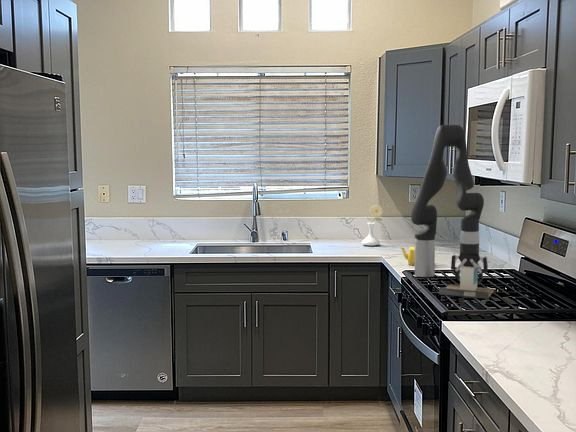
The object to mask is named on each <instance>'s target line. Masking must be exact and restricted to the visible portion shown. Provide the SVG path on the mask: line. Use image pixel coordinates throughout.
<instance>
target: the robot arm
mask: <svg viewBox="0 0 576 432" xmlns="http://www.w3.org/2000/svg"><path fill="white" fill-rule="evenodd" d="M464 130H465V129H464V128H463V127H462V126H461V125H459V124H441V125H439V126H438V127H437V128H436V132H435V134H434V139H433V144H432V149H431V153H430V157H429V160H428V164H427V167H426V169H425V173H424V175H423V180H422V184H421V186H420V189H419V193H418V195H417V197H416V200H415V202H414V203H413V206H412V210H411V215H410V219H411V222H412V224H414V225H416V226H423V227H422V229H420V230H418V231H417V232H415V233H414V247H415V266H414V276H415V277H416V276H417V277H418V278H419V277H421V278H432V277H435V269H436V268H435V267H436V263H435V262H436V234H437V226H438V225H437V224H438V211H437V208H436V206H435V205H433V204H429V202H430V200H432V198H434V197H435V196H436V195H437V194H438V193H439V192H440V191H441V190H442V188H443V187H444V185H445V182H446V178H447V177H448V176H447V175H448V171H447V166H446V164H445V161H444V158H443V157H444V156H443V154H444V150H445V148H446V147H450V148H453V147H454V148H455V149H456V150H455V151H456V159H455V161H454V164H453V169H452V176H453V179H454V183H455V185H456V205H457V207H458V209H459V210H461V211H470V213H469V214H468V215H465V216H462V217H461V219H460V234H459V255H456V254H453V255H452V256H451V262H450V263H451V264H450V269H451V271H455V280H456V281H459V282H460V268H461V267H462V266H463V265H464V266H466V267H468V266H470V267H475V268H476V269H477V270H478V279H477V283H481V282H483V279H484V273H487V272H488V270H489V269H488V266H489V265H488V256H480V232H479V231H480V219H481V216H482V212H483V208H484V205H485V200H484V199H485V198H484V197H483V195H482V194H481V193H479V192H469V193H468V192H467V191H469V190H471V189H472V188H474V186H475V182H474V178H473V175H472V171H471V169H470V165H469V158H468V150H467V141H466V135H465V131H464ZM457 260H459V261H460V263H459V265H457V266H456V261H457ZM480 261H481V262H482V263H483V266H482V267H483V268H482V267H481V265H480V263H479V262H480Z"/></svg>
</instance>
